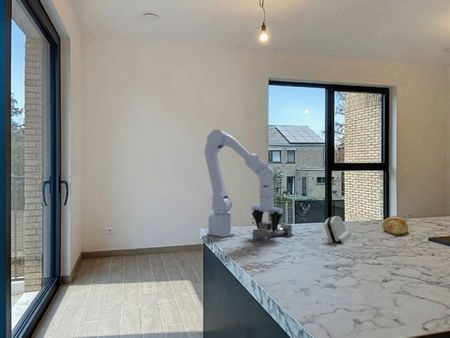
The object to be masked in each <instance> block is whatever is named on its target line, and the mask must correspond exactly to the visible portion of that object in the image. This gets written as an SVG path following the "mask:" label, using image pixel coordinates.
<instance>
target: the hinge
mask: <svg viewBox="0 0 450 338" xmlns="http://www.w3.org/2000/svg"><path fill="white" fill-rule="evenodd" d="M324 229H325V233H326V236H327V239H328V242H329V244H330V243H334V242H339V241H340V242H341V245H344V244H345V243H346V242H347V241H348V240H349V239H350V238H351V237H352V235H351V232H350V231H348V230H347V228H346V226H345V224H344V222H343V219H342V217H341V216H339V215H335V216H331V217H329V218H327V219H325V222H324Z"/></svg>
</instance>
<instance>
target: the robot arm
mask: <svg viewBox="0 0 450 338" xmlns="http://www.w3.org/2000/svg"><path fill="white" fill-rule="evenodd" d="M206 138H207V140H206V144H205V147H204V156H205V157H204V158H205V161H206V166H207V170H208V175H209V178H210V179H209V180H210V184H211V189H212V196H211V200H212V203H211V209H212V211H213V212H212V213H211V214H209V216H208V220H207V221H208V227H207V228H208V230H207V231H208V232H207V233H206V234H207V235H210V236H215V237H222V238H224V237H228V236H233V235H236V232H232V212H231V209H232V207H233V202H232V200H231V198H230V197H229V194H228V192H227V190H226V188H225V187H226V186H225V183H224V179H223V174H222V170H221V166H220V164H221V163H220V161H219V155H218V154H219V152H220V151H221V149H222V148H223V147H225V146H226V147H229V148H231V149H232V150H233V151H234V152H235V153H237V154H238V155H239V156H240V157H241V158H242V159H244V163H245V166H247V167H248V168H249V170H250V171H252V172H253V173H254V174H255V175H257V176H258V179H259V205H252V206H251V215H252V217H253V219H254V220H255V221H254V222H255V224H256V228H257V229H256V230H258V229H259V222H263V216H264V213H269V215H270V218H271V219H270V220H271V222H272V231H277V228H279V227H278V226H279V224H280V221H281V218H282V217H283V213H284V208H280V207H276V206H275V202H274V201H275V196H274V195H275V194H274V192H275V187H274V177H275V170H274V169H273V168H272V166H269V164H268V163H267V162H264V161H263V159H261V156H260V155H259V154H256V153H250V152H249V151H248V150H247V149H246V148H245V147H244V146H243V145H242V144H240V143H239V141H238V140H237V139H236V138H235V137H234V136H232V135H230V134H229V133H228V132H227V131H225V130H220V129H217V128H216V129H213V130H211V132H210V133H209V134H208V135H207V137H206Z"/></svg>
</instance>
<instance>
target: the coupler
mask: <svg viewBox="0 0 450 338" xmlns="http://www.w3.org/2000/svg"><path fill="white" fill-rule="evenodd" d="M257 230H267V233H268V237H267V240H269V239H272V238H271V237H273V238H275V236H274V231H272V221H266V220H265V221H262V222H259V229H257ZM268 238H269V239H268Z"/></svg>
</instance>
